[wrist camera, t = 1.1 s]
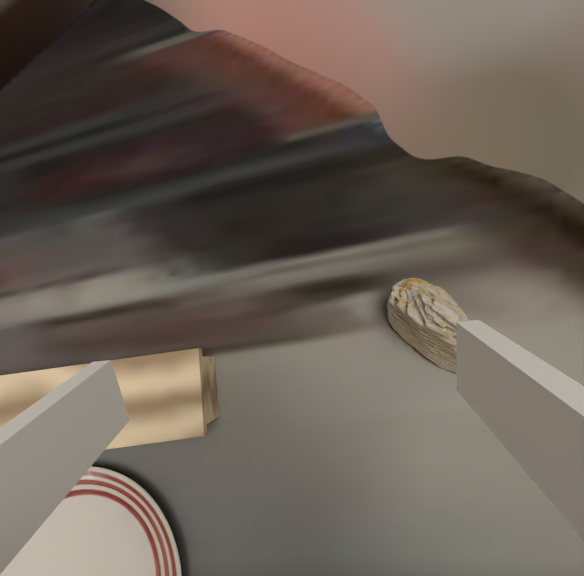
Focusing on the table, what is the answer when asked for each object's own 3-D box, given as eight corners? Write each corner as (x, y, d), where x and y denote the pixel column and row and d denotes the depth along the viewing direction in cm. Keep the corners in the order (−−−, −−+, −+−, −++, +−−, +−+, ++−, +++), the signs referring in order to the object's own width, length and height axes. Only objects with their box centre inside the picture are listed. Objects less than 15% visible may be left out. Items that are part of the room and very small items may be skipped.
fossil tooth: (445, 380, 42) (364, 306, 43) (474, 347, 42) (393, 274, 44) (502, 401, 30) (389, 299, 32) (540, 355, 31) (428, 257, 32)
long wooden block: (219, 424, 41) (204, 436, 35) (-49, 460, 41) (-110, 478, 35) (213, 349, 43) (198, 348, 37) (-41, 384, 43) (-97, 388, 37)
